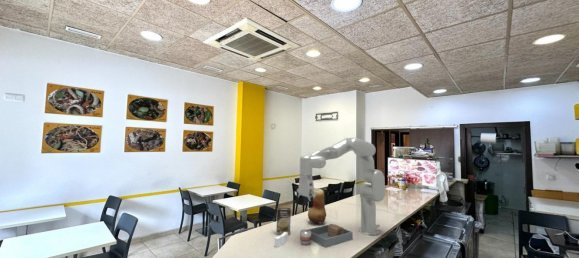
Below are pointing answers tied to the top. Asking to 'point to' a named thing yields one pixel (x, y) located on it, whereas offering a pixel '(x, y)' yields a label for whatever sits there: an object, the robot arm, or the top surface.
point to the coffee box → (283, 220)
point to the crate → (326, 241)
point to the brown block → (335, 230)
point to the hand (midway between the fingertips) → (305, 205)
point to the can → (305, 237)
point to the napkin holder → (281, 239)
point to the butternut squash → (317, 208)
